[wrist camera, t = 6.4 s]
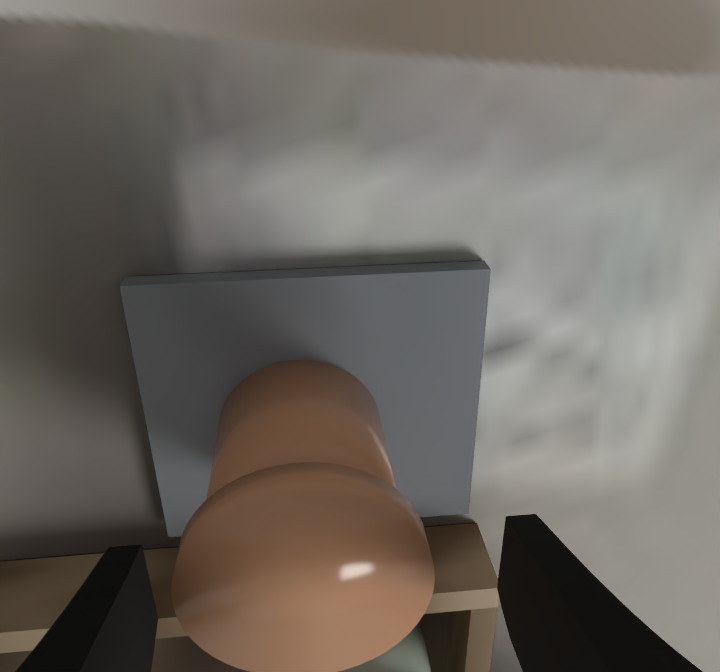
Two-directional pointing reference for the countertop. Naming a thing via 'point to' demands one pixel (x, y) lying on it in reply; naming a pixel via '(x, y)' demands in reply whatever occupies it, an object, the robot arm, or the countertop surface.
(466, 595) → the brown rectangular frame
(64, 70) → the countertop surface
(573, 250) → the countertop surface
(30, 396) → the countertop surface
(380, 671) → the glazed pot
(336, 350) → the slate mat
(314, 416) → the pot
